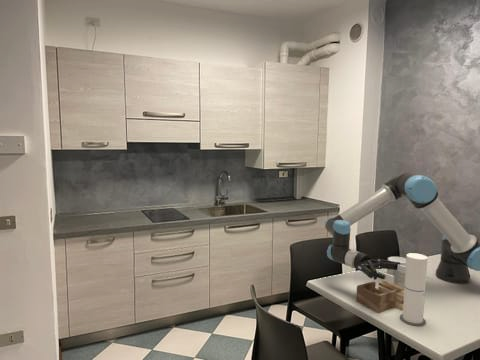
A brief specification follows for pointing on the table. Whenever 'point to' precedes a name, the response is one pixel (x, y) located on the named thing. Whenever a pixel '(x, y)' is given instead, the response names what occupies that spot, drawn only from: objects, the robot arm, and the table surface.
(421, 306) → the cylindrical container
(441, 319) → the table surface
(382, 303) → the offcut rack
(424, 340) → the table surface
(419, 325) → the rubber mat
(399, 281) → the supplement tub
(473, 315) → the table surface
